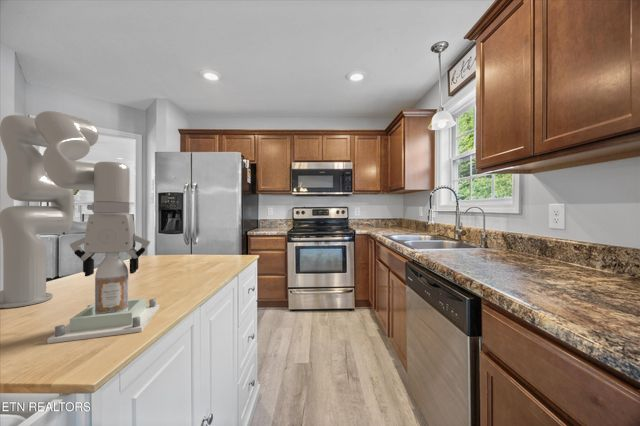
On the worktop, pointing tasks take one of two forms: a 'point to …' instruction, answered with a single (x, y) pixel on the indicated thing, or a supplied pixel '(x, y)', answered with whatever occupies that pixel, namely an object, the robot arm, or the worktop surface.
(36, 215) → the robot arm
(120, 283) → the bath foam
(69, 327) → the dock
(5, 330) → the worktop surface
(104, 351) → the worktop surface
